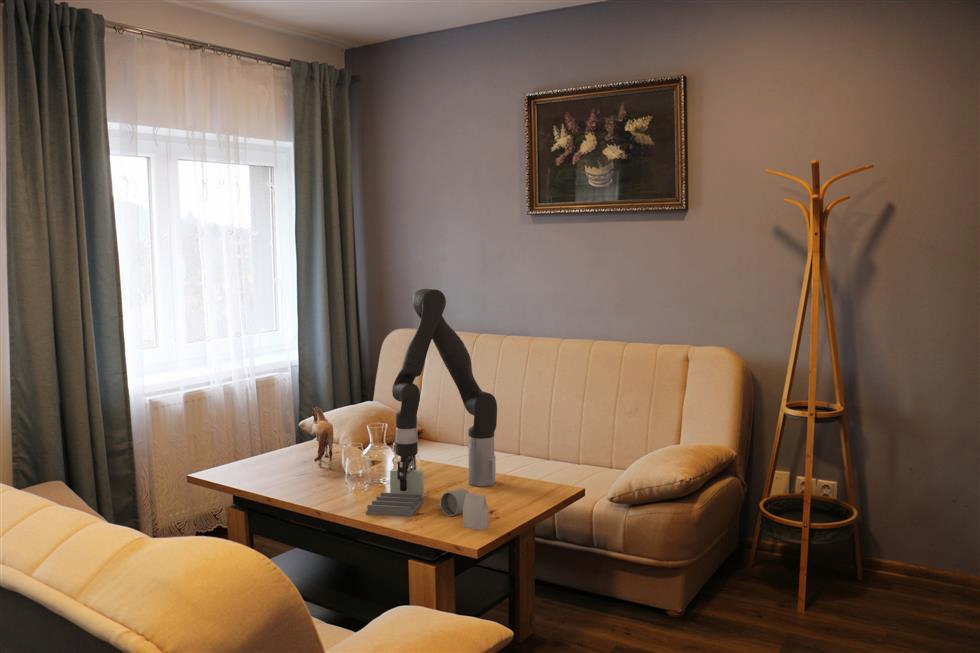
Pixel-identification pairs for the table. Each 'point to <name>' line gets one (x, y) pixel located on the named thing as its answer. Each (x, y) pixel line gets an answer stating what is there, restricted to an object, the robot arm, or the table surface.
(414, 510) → the slot rack
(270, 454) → the table surface
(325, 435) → the horse figurine
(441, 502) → the ceramic mug
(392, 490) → the green tile
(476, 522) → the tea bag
